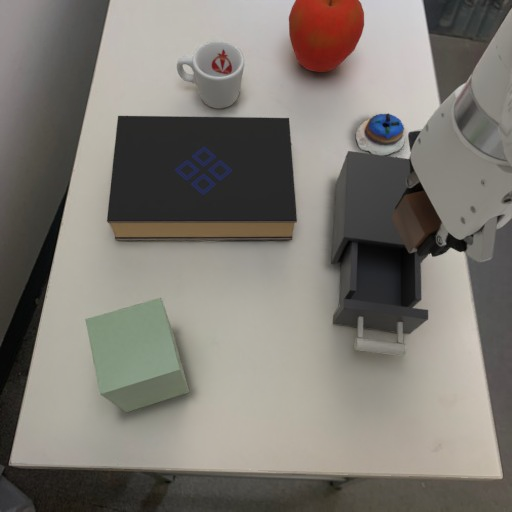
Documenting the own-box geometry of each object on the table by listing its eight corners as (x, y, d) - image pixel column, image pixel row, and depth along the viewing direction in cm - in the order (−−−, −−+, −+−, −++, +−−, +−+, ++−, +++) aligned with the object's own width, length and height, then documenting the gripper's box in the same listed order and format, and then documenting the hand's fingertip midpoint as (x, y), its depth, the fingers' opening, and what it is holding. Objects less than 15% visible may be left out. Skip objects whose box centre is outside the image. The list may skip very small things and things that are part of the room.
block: (447, 242, 51) (466, 222, 47) (408, 253, 51) (424, 234, 46) (428, 206, 53) (444, 184, 49) (390, 217, 52) (404, 194, 48)
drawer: (409, 365, 64) (429, 353, 58) (330, 355, 64) (342, 341, 58) (408, 250, 71) (425, 228, 65) (337, 241, 71) (347, 218, 65)
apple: (292, 31, 90) (303, -44, 77) (356, 46, 89) (378, -27, 76) (275, 79, 84) (284, 8, 72) (343, 97, 84) (364, 27, 71)
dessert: (402, 115, 82) (412, 111, 76) (399, 155, 83) (409, 155, 77) (354, 115, 82) (360, 111, 76) (352, 155, 83) (358, 155, 77)
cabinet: (410, 274, 71) (433, 248, 63) (330, 263, 71) (343, 236, 63) (409, 194, 76) (430, 161, 68) (335, 184, 76) (348, 150, 68)
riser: (189, 392, 62) (180, 369, 49) (126, 412, 61) (100, 394, 48) (173, 333, 65) (161, 297, 52) (113, 351, 64) (85, 318, 51)
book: (126, 143, 77) (117, 115, 71) (284, 145, 79) (289, 117, 73) (116, 243, 70) (106, 220, 64) (291, 242, 72) (297, 220, 66)
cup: (172, 105, 81) (167, 68, 74) (186, 70, 84) (182, 31, 77) (236, 119, 80) (237, 83, 73) (247, 83, 84) (249, 45, 76)
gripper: (623, 196, 33) (489, 291, 49) (497, 20, 39) (416, 156, 56) (527, 225, 31) (422, 312, 48) (412, 37, 38) (355, 172, 54)
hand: (419, 228), depth 52 cm, fingers closed on block, 4 cm apart
